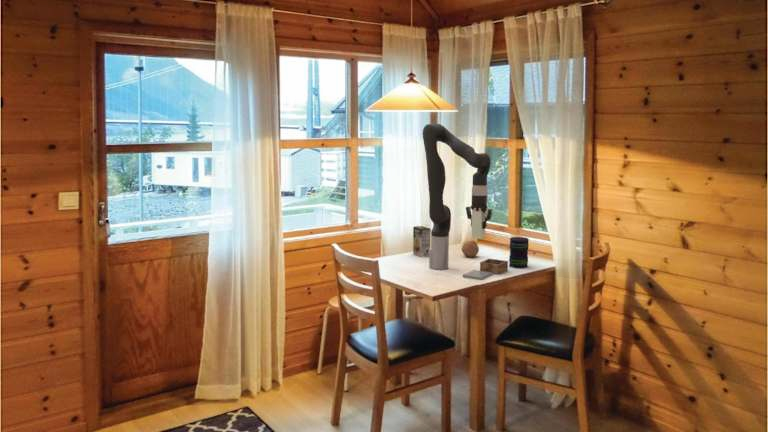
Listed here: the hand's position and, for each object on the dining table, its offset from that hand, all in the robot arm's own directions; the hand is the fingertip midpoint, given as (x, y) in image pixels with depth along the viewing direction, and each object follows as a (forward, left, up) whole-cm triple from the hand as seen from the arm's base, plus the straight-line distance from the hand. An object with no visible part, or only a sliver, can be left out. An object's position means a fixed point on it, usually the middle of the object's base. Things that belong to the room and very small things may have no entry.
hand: (478, 228), depth 327 cm
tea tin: (0, 0, -5) cm, 5 cm away
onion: (-23, +39, -25) cm, 52 cm away
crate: (+3, +14, -24) cm, 28 cm away
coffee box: (-48, +27, -25) cm, 61 cm away
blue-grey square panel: (0, 0, -24) cm, 24 cm away
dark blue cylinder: (+9, +32, -25) cm, 41 cm away
